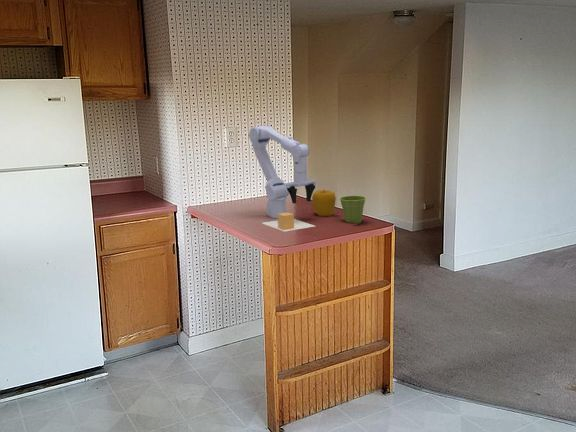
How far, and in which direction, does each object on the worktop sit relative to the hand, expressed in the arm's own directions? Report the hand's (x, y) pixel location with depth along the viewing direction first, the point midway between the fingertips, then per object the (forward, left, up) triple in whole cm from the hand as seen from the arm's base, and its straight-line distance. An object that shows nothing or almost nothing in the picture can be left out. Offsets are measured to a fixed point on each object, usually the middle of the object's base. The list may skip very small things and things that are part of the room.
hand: (301, 202), depth 257 cm
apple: (-4, +15, -10) cm, 18 cm away
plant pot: (+14, +18, -10) cm, 25 cm away
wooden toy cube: (+8, -13, -8) cm, 17 cm away
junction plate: (+3, -9, -9) cm, 13 cm away
